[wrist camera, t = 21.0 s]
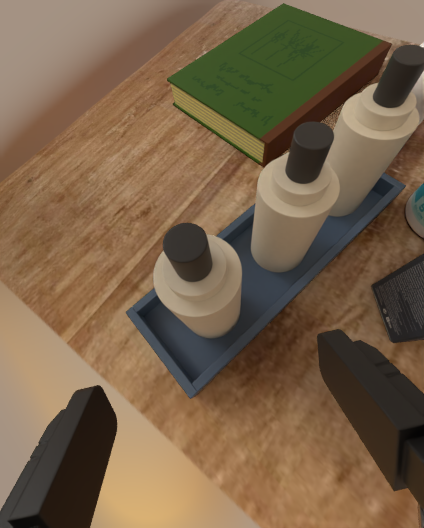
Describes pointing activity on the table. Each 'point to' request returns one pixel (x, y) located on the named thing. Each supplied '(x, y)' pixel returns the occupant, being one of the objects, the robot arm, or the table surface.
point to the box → (403, 301)
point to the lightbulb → (420, 95)
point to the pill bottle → (416, 211)
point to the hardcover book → (276, 79)
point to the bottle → (199, 280)
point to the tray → (250, 293)
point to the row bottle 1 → (294, 199)
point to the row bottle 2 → (375, 128)
